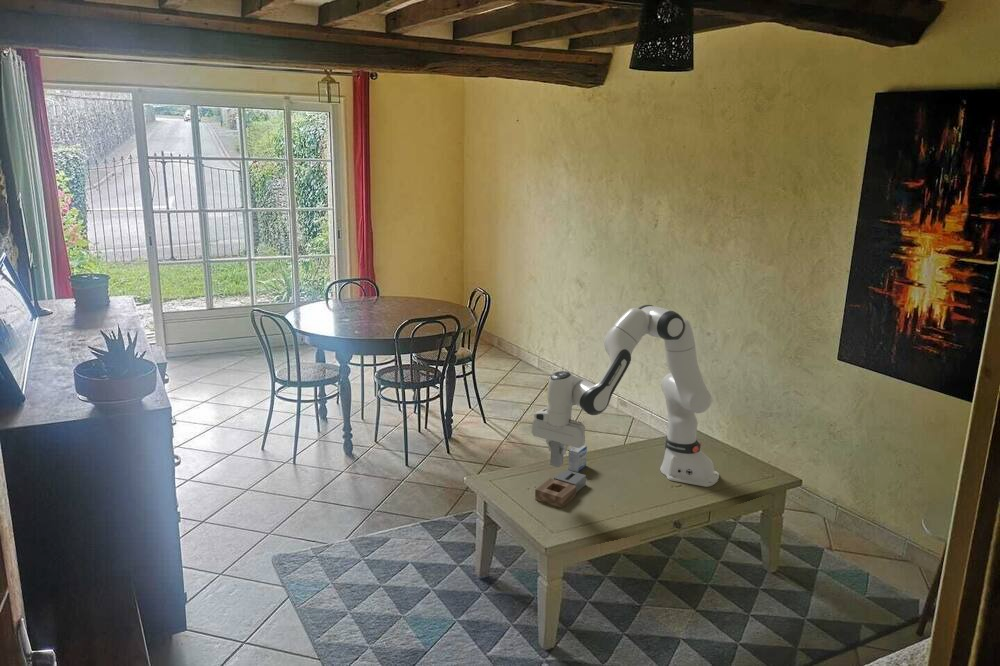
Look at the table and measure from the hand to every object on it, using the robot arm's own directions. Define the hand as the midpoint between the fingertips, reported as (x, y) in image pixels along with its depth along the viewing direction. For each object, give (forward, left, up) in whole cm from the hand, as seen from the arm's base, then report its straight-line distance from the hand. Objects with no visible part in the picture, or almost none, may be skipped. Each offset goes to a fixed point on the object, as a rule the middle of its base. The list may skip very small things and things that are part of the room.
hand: (557, 452), depth 257 cm
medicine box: (+5, -27, -18) cm, 33 cm away
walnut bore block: (0, 0, -18) cm, 18 cm away
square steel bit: (0, 0, -5) cm, 5 cm away
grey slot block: (0, -11, -18) cm, 21 cm away
